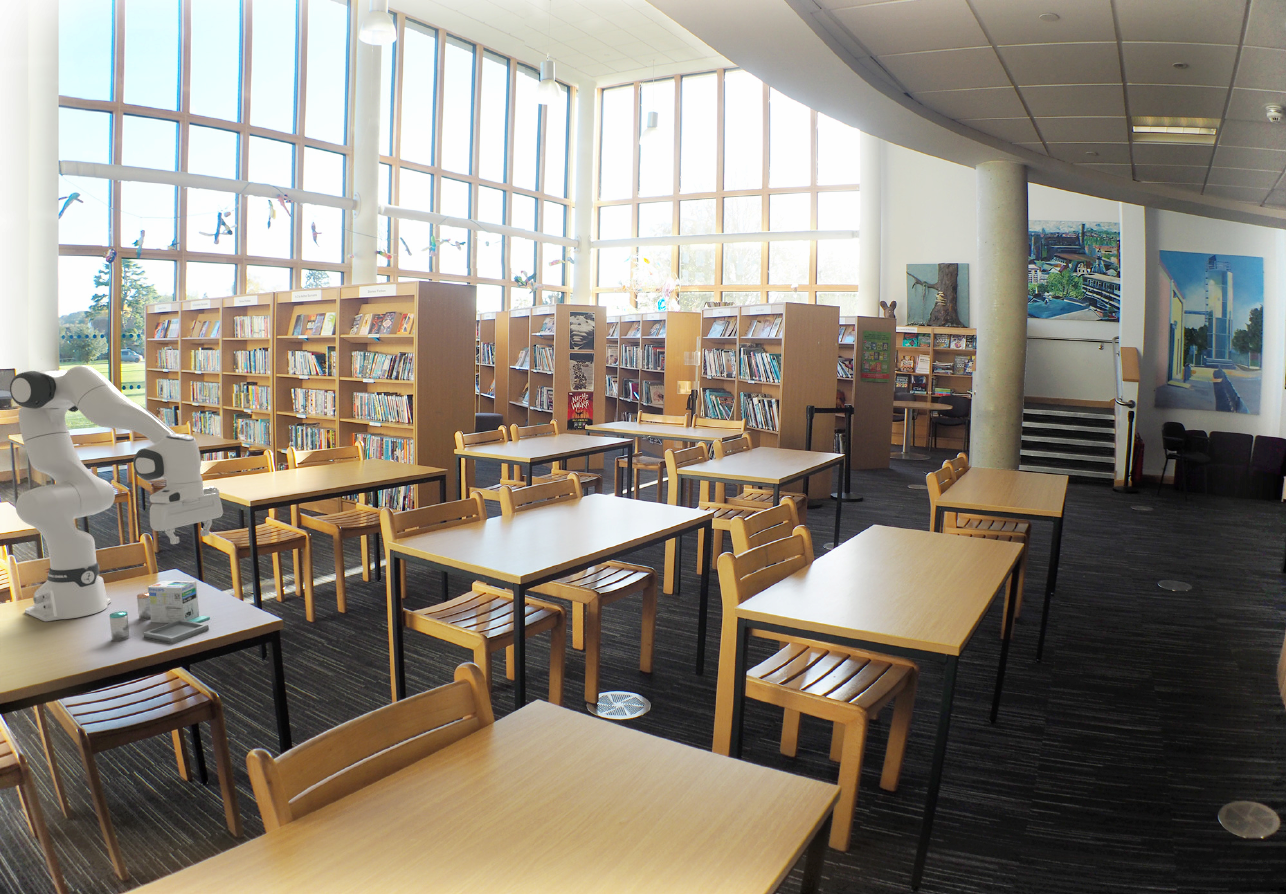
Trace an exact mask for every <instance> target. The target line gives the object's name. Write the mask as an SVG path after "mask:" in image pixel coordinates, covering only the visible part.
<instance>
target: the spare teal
mask: <svg viewBox="0 0 1286 894" xmlns="http://www.w3.org/2000/svg"><path fill="white" fill-rule="evenodd" d="M109 623H110V634H111V641H113V642H121V641H122V642H123V641H125V640H126V641H127V639H130V638H131V637H130V626H129V616H128V611H127V610H119V611H113V612H112V613H110V614H109Z"/></svg>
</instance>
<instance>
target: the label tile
mask: <svg viewBox="0 0 1286 894" xmlns="http://www.w3.org/2000/svg"><path fill="white" fill-rule="evenodd" d="M210 619H211V617H210V616H208V615H199V616H198V617H196V618H194V619H191V620H188V621H191V622H197V623H202V622H205V621H208V620H210Z"/></svg>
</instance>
